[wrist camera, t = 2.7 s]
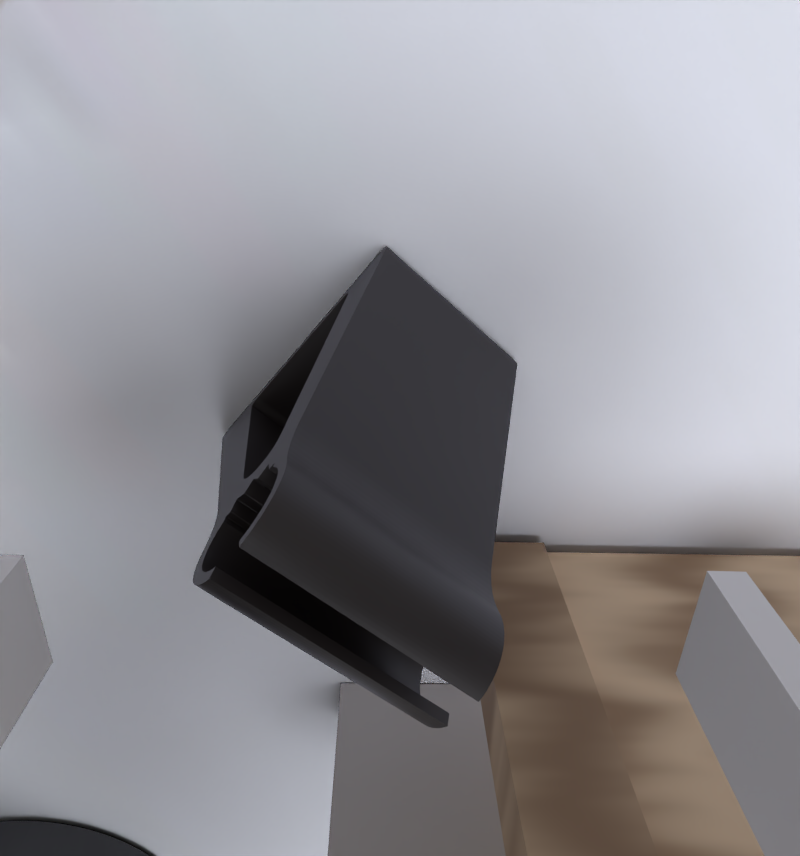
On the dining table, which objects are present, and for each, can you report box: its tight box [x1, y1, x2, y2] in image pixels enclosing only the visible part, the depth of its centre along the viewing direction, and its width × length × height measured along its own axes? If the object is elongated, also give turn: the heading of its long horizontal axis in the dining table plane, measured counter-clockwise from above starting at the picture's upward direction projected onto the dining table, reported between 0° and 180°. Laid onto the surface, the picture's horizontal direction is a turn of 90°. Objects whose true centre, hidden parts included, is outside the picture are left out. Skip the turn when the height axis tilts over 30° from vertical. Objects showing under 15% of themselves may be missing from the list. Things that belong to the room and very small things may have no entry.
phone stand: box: [193, 247, 517, 728], centre depth 18 cm, size 9×6×12 cm, turn 138°
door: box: [481, 542, 800, 856], centre depth 19 cm, size 16×3×15 cm, turn 88°
